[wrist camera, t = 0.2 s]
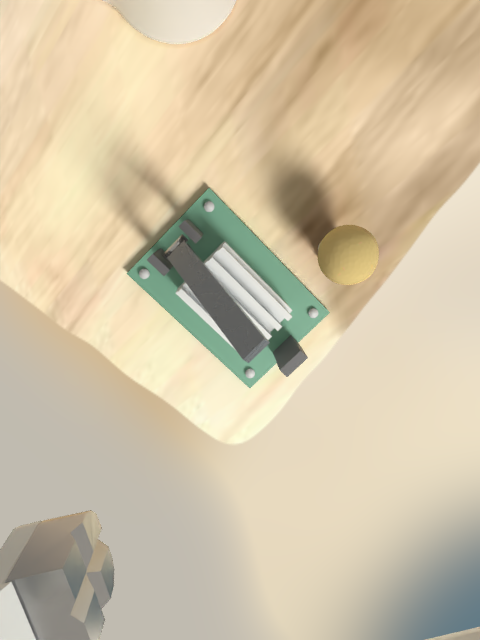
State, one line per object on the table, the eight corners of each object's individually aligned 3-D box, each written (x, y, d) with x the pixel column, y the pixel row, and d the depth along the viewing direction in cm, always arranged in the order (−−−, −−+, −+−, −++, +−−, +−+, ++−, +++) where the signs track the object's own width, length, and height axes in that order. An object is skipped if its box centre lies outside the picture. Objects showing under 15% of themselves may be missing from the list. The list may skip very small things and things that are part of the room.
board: (127, 272, 54) (112, 283, 46) (209, 188, 53) (208, 183, 44) (249, 385, 59) (255, 414, 50) (328, 311, 57) (347, 327, 49)
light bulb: (305, 276, 56) (324, 289, 46) (306, 223, 54) (326, 226, 44) (355, 275, 56) (385, 288, 46) (358, 223, 54) (389, 225, 45)
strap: (166, 257, 48) (160, 253, 47) (186, 237, 48) (180, 232, 47) (246, 365, 38) (240, 361, 37) (272, 340, 37) (266, 336, 36)
